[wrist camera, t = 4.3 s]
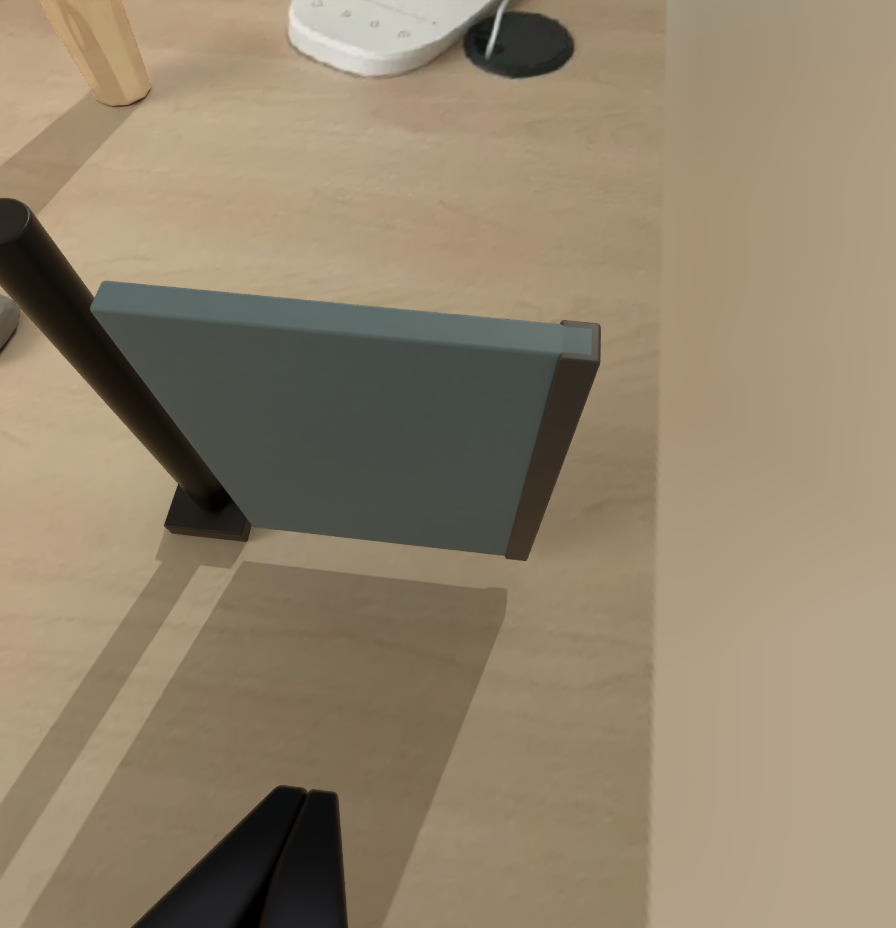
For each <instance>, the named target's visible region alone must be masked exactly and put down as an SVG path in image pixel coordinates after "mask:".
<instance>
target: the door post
mask: <svg viewBox="0 0 896 928" xmlns="http://www.w3.org/2000/svg"><path fill="white" fill-rule="evenodd" d="M0 286H1V287H2V288H3V289H4V290H5V291H6V292H7V293H8V295H9V296H10V297H11V298H12V299H13V300H14V301H15V302H16V304H17V305H18V306H19V307H20V308H21V309H22V310H23V311H24V312H25V314H26V315H27V316H28V317H29V318H30V319H31V320H32V321H33V322H34V324H35V325H36V326H37V327H38V328H39V329H40V330H41V331H42V332H43V334H44V335H45V336H46V337H47V338H48V339H49V340H50V341H51V342H52V344H53V345H54V346H55V347H56V348H57V349H58V350H59V351H60V353H61V354H62V355H63V356H64V357H65V358H66V359H67V360H68V361H69V363H70V364H71V365H72V366H73V367H74V368H75V369H76V370H77V371H78V373H79V374H80V375H81V376H82V377H83V378H84V379H85V380H86V381H87V383H88V384H89V385H90V386H91V387H92V388H93V389H94V390H95V392H96V393H97V394H98V395H99V396H100V397H101V398H102V399H103V400H104V402H105V403H106V404H107V405H108V406H109V407H110V408H111V409H112V410H113V412H114V413H115V414H116V415H117V416H118V417H119V418H120V419H121V420H122V422H123V423H124V424H125V425H126V426H127V427H128V428H129V429H130V430H131V432H132V433H133V434H134V435H135V436H136V437H137V438H138V439H139V441H140V442H141V443H142V444H143V445H144V446H145V447H146V448H147V449H148V451H149V452H150V453H151V454H152V455H153V456H154V457H155V458H156V459H157V461H158V462H159V463H160V464H161V465H162V466H163V467H164V468H165V469H166V471H167V472H168V473H169V474H170V475H171V476H172V477H173V478H174V479H175V481H176V482H177V483H178V486H177V489H176V492H175V495H174V498H173V501H172V504H171V506H170V509H169V512H168V515H167V518H166V521H165V524H164V526H165V527H166V528H167V529H168V530H169V531H170V532H171V533H175V534H183V535H192V536H201V537H209V538H218V539H226V540H235V541H244V542H247V540H248V536H249V532H250V529H251V525H252V524H251V523H250V522H249V520H248V519H247V518H246V516H245V515H244V514H243V512H242V511H241V510H240V508H239V507H238V506H237V504H236V503H235V502H234V500H233V499H232V498H231V496H230V495H229V494H228V492H227V491H226V490H225V488H224V487H223V486H222V484H221V483H220V482H219V480H218V479H217V478H216V476H215V475H214V474H213V472H212V471H211V470H210V469H209V467H208V466H207V465H206V463H205V462H204V461H203V459H202V458H201V457H200V455H199V454H198V453H197V451H196V450H195V449H194V447H193V446H192V445H191V443H190V442H189V441H188V439H187V438H186V437H185V435H184V434H183V433H182V431H181V430H180V429H179V427H178V426H177V425H176V423H175V422H174V421H173V419H172V418H171V417H170V415H169V414H168V413H167V411H166V410H165V409H164V408H163V406H162V405H161V404H160V402H159V401H158V400H157V398H156V397H155V396H154V394H153V393H152V392H151V390H150V389H149V388H148V386H147V385H146V384H145V382H144V381H143V380H142V378H141V377H140V376H139V374H138V373H137V372H136V370H135V369H134V368H133V366H132V365H131V364H130V362H129V361H128V360H127V358H126V357H125V356H124V354H123V353H122V352H121V350H120V349H119V348H118V347H117V345H116V344H115V343H114V341H113V340H112V339H111V337H110V336H109V335H108V333H107V332H106V331H105V329H104V328H103V327H102V325H101V324H100V323H99V321H98V320H97V319H96V317H95V316H94V315H93V313H92V312H91V310H90V306H91V304H92V302H93V300H94V296H93V295H92V294H91V292H90V291H89V290H88V288H87V287H86V285H85V284H84V283H83V281H82V280H81V278H80V277H79V276H78V274H77V273H76V272H75V270H74V269H73V267H72V266H71V265H70V263H69V262H68V261H67V259H66V258H65V256H64V255H63V254H62V252H61V251H60V250H59V248H58V247H57V245H56V244H55V243H54V241H53V240H52V239H51V237H50V236H49V234H48V233H47V232H46V230H45V229H44V227H43V226H42V225H41V223H40V222H39V221H38V219H37V218H36V216H35V215H34V214H33V212H32V211H31V210H30V208H29V207H28V206H27V205H25V204H24V203H22V202H20V201H18V200H16V199H11V198H0Z"/></svg>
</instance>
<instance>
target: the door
mask: <svg viewBox="0 0 896 928" xmlns="http://www.w3.org/2000/svg"><path fill="white" fill-rule="evenodd" d="M90 310H91V312H92V313H93V315H94V316H95V317H96V319H97V320H98V321H99V323H100V324H101V325H102V327H103V328H104V329H105V331H106V332H107V333H108V335H109V336H110V337H111V339H112V340H113V341H114V343H115V344H116V345H117V347H118V348H119V349H120V350H121V352H122V353H123V354H124V356H125V357H126V358H127V360H128V361H129V362H130V364H131V365H132V366H133V368H134V369H135V370H136V372H137V373H138V374H139V376H140V377H141V378H142V380H143V381H144V382H145V384H146V385H147V386H148V388H149V389H150V390H151V392H152V393H153V394H154V396H155V397H156V398H157V400H158V401H159V402H160V404H161V405H162V406H163V408H164V409H165V410H166V411H167V413H168V414H169V415H170V417H171V418H172V419H173V421H174V422H175V423H176V425H177V426H178V427H179V429H180V430H181V431H182V433H183V434H184V435H185V437H186V438H187V439H188V441H189V442H190V443H191V445H192V446H193V447H194V449H195V450H196V451H197V453H198V454H199V455H200V457H201V458H202V459H203V461H204V462H205V463H206V465H207V466H208V467H209V469H210V470H211V471H212V472H213V474H214V475H215V476H216V478H217V479H218V480H219V482H220V483H221V484H222V486H223V487H224V488H225V490H226V491H227V492H228V494H229V495H230V496H231V498H232V499H233V500H234V502H235V503H236V504H237V506H238V507H239V508H240V510H241V511H242V512H243V514H244V515H245V516H246V518H247V519H248V520H249V522H250V523H251V524H252V526H253V527H258V528H267V529H275V530H284V531H293V532H302V533H310V534H319V535H328V536H337V537H345V538H354V539H363V540H372V541H380V542H389V543H398V544H407V545H415V546H424V547H433V548H442V549H450V550H459V551H468V552H476V553H485V554H494V555H503V556H505V558H506V559H513V560H522V561H527V559H528V556H529V553H530V551H531V548H532V545H533V543H534V540H535V537H536V535H537V532H538V529H539V527H540V524H541V521H542V519H543V516H544V513H545V510H546V508H547V505H548V502H549V500H550V497H551V494H552V492H553V489H554V486H555V484H556V481H557V478H558V476H559V473H560V470H561V467H562V465H563V462H564V459H565V457H566V454H567V451H568V449H569V446H570V443H571V441H572V438H573V435H574V433H575V430H576V427H577V424H578V422H579V419H580V416H581V414H582V411H583V408H584V406H585V403H586V400H587V398H588V395H589V392H590V390H591V387H592V384H593V382H594V379H595V376H596V373H597V371H598V368H599V365H600V351H601V327H600V324H598V323H588V322H577V321H567V320H563V321H561V323H560V324H552V323H542V322H531V321H521V320H510V319H500V318H490V317H479V316H469V315H458V314H448V313H437V312H427V311H416V310H406V309H396V308H385V307H375V306H364V305H354V304H343V303H333V302H323V301H312V300H302V299H291V298H281V297H270V296H260V295H250V294H239V293H229V292H218V291H208V290H197V289H187V288H176V287H166V286H156V285H145V284H135V283H124V282H114V281H103V282H102V284H101V286H100V288H99V290H98V292H97V294H96V296H95V298H94V300H93V302H92V304H91V306H90Z"/></svg>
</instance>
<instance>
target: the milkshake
mask: <svg viewBox="0 0 896 928" xmlns="http://www.w3.org/2000/svg"><path fill="white" fill-rule="evenodd" d="M37 1H38V3H39V4H40V6H41V8H42V9H43V11H44V13H45V14H46V16H47V17H48V19H49V21H50V22H51V24H52V26H53V27H54V29H55V31H56V32H57V34H58V36H59V37H60V39H61V41H62V43H63V44H64V46H65V48H66V49H67V51H68V53H69V54H70V56H71V58H72V59H73V61H74V63H75V64H76V66H77V68H78V69H79V71H80V73H81V74H82V76H83V78H84V79H85V81H86V83H87V84H88V86H89V88H90V89H91V91H92V93H93V94H94V96H95V98H96V99H97V100H98V101H100V102H103V103H105V104H108V105H110V106H118V105H129V104H132V103H134V102H136V101H138V100H140V99H142V98H144V97H145V96H146V94H147V92H148V91H149V89H150V88H151V83H150V80H149V77H148V74H147V71H146V68H145V65H144V62H143V60H142V57H141V54H140V51H139V48H138V45H137V42H136V39H135V37H134V34H133V31H132V28H131V25H130V22H129V19H128V16H127V13H126V10H125V8H124V5H123V2H122V0H37Z"/></svg>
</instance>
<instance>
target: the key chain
mask: <svg viewBox="0 0 896 928" xmlns="http://www.w3.org/2000/svg"><path fill="white" fill-rule="evenodd" d="M19 317H20V308H19V307H18V306H17V305H16V303H15V302H14V301H13V300H11V299H9V298H7V297H4V296H2V295H0V349H1V347H2V346H3V345H4V344H5V343H6V341H7V340H8V339H9V337H10V336H11V334H12V333H13V331H14V330H15V328H16V327H17V325H18V322H19Z"/></svg>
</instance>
